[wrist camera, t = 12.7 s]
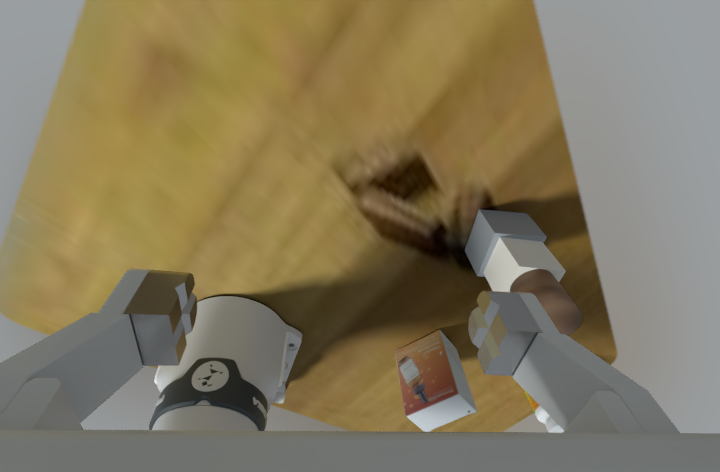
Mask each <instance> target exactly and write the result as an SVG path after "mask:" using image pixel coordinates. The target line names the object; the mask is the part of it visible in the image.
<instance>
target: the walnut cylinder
mask: <svg viewBox="0 0 720 472" xmlns="http://www.w3.org/2000/svg"><path fill="white" fill-rule="evenodd" d="M510 292H526V293H532V294H534V295H535V296H536V297H537V299H538V301H539V302H540V304H541V305H542V307H543V308H544V310H545V311H546V313H547V314H548V316H549V317H550V319H551V320H552V322H553V323H554V325H555V326H556V328H557V330H558V331H559V333H560V334H566V335H567V336H568V335H570V334H572V333H573V332H574V331H575V330H576V329H577V328H578V327H579V326H580V324H581V323H582V320H583V314H582V312H581V311H580V309H579V308H578V307H577V305H576V304H575V303H574V302H573V300H572V299H571V298H570V296H569V295H568V294H567V292H566V291H565V290H564V288H563V287H562V286H561V285H560V283H559V282H558V281H557V279H556V278H555V277H554V275H553V274H552V273H551V272H549V271H547V270H544V269H534V270H530V271H527V272H525V273H523V274H521V275H520V276H519V277H517V278H516V279H515V280H514V282H513V283H512V285H511V287H510Z"/></svg>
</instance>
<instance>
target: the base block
mask: <svg viewBox="0 0 720 472" xmlns="http://www.w3.org/2000/svg"><path fill="white" fill-rule="evenodd" d="M499 237H505V238H514V239H523V240H532V241H541V242H543V243H544V242H545V240H546V238H547V236H546V235H545V234H544V233H543V232H542V230H541V229H540V228H539V227H538V226H537V224H536V223H535V222H534V221H533V220H532V218H531V217H530V216H529V215H528V214H527V213H517V212H505V211H493V210H481V209H479V211H478V214H477V217H476V220H475V223H474V225H473V228H472V231H471V234H470V237H469V240H468V242H467V245H466V248H465V253H466V255H467V257H468V259H469V261H470V263H471V265H472V267H473V269H474V271H475V273H476V275H477V276H480V277H485V275H484V273H483V272H484V270H485V268H486V266H487V263H488V261H489V259H490V257H491V255H492V253H493V250H494V248H495V246H496V244H497V242H498V239H499Z"/></svg>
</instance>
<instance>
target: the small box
mask: <svg viewBox="0 0 720 472" xmlns="http://www.w3.org/2000/svg"><path fill="white" fill-rule="evenodd" d="M395 357H396V363H397V368H398V374H399V380H400V386H401V391H402V397H403V403H404V409H405V415H406V417H408V418H409V419H410V420H411V421H412V422H413V423H415V424H416V425H417V426H418V427H419V428H421V429H422V430H423V431H424V432H429V431H431V430H433V429H435V428H437V427H440V426H442V425H444V424H447V423H449V422H452V421H454V420H456V419H459V418H461V417H464V416H466V415H469V414H473V413H475V412H477V409H476V406H475V403H474V400H473V397H472V394H471V391H470V388H469V385H468V382H467V379H466V376H465V373H464V370H463V367H462V364H461V361H460V358H459V355H458V352H457V349H456V348H455V347H454V345H453V344H452V343H451V342H450V341H449V340H448V338H447V337H446V336H445V335H444V334H443V333H442V332H441V330H437V331H435V332H433V333H432V334H430V335H428V336H426V337H424V338H421V339H419V340H417V341H415V342H413V343H411V344H409V345H407V346H405V347H402V348H400V349H397V350H396V351H395Z"/></svg>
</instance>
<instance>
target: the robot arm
mask: <svg viewBox="0 0 720 472" xmlns="http://www.w3.org/2000/svg"><path fill="white" fill-rule="evenodd" d="M194 285H195V283H194V277H193V275H192V274H191V273H184V272H172V271H160V270H143V269H130V270H128V271H127V272H126V273H125V274H124V276H123V277H122V279H121V280H120V282H119V283H118V285H117V286H116V287H115V289H114V290H113V292H112V293H111V295H110V296H109V298H108V299H107V301H106V302H105V303H104V305H103V306H102V308H101V309H100V311H99V312H98V313H90V314H88V315H87V316H85V317H83V318H81V319H79V320H78V321H76V322H74V323H72V324H70V325H68V326H67V327H65V328H63V329H61V330H59V331H58V332H56V333H54V334H52V335H50V336H48V337H47V338H45V339H43V340H41V341H40V342H38V343H36V344H34V345H32V346H30V347H29V348H27V349H25V350H23V351H21V352H20V353H18V354H16V355H14V356H12V357H10V358H9V359H7V360H5V361H3V362H1V363H0V472H720V434H699V433H695V434H694V433H692V434H691V433H683V434H682V433H680V432H679V431H678V429H677V428H676V427H675V425H674V424H673V423H672V422H671V420H670V419H669V418H668V416H667V415H666V414H665V413H664V411H663V410H662V409H661V407H660V406H659V405H658V403H657V402H656V401H655V400H654V398H653V397H652V396H651V394H650V393H649V392H648V391H647V390H646V389H644V388H643V387H641V386H640V385H638V384H637V383H636V382H634V381H633V380H631V379H630V378H628V377H627V376H625V375H624V374H622V373H621V372H620V371H618V370H617V369H615V368H614V367H612V366H611V365H609V364H608V363H607V362H605V361H604V360H602V359H601V358H599V357H598V356H596V355H595V354H593V353H592V352H591V351H589V350H588V349H586V348H585V347H583V346H582V345H580V344H579V343H577V342H576V341H575V340H573V339H572V338H570V337H569V336H567V335H566V334H560V333H559V331H558V330H557V328H556V326H555V325H554V323H553V322H552V320H551V319H550V317H549V316H548V314H547V313H546V311H545V310H544V308H543V307H542V305H541V304H540V302H539V301H538V299H537V297H536V296H535V295H534V294H532V293H526V292H499V291H482V292H481V293H480V294H479V296H478V298H477V300H476V301H477V303H478V305H479V306H478V307H477V308H476V309H474V310H473V311H472V312H471V315H470V317H469V323H468V330H469V336H470V338H471V341H472V343H473V344H474V345H475V346H477V347H478V348H479V351H478V354H477V356H478V359H479V361H480V364H481V366H482V369H483V371H484V374H488V375H506V376H513V378H514V380H515V381H516V382H517V383H518V384H519V385H520V386H521V387H522V388H523V389H524V390H525V391H526V392H527V393H528V394H529V395H530V396H531V397H532V398H533V399H534V400H535V401H536V402H537V403H538V404H539V405H540V406H541V407H542V408H543V409H544V410H545V411H546V412H547V413H548V414H549V415H550V417H551V418H552V419H553V420H554V421H555V422H556V423H557V424H558V425H559V426H560V427H561V428H562V429H563V430H564V432H563V433H535V432H533V433H532V432H531V433H530V432H360V431H346V432H345V431H264V430H265V428H266V423H267V413H268V411H269V409H270V407H271V405H272V402H274V403H281V404H282V403H283V402H284V398H285V392H286V387H285V383H286V381H287V378H288V376H289V373H290V371H291V368H292V365H293V363H294V360H295V358H296V355H297V352H298V350H299V347H300V345H301V342H302V337H303V335H302V333H301V332H300V331H298V330H297V329H295V328H293V327H291V326H289V325H287V324H285V323H284V322H283V321H282V320H281V318H280V317H279V316H278V315H277V314H276V313H275V312H274V311H272V310H271V309H270V308H268V307H266V306H265V305H263V304H261V303H258V302H256V301H253V300H250V299H246V298H241V297H233V296H220V297H213V298H208V299H205V300H202V301H199V302H197V298H196V296H195V295H194V294H193V293H192V290H193V288H194ZM143 366H159V367H158V370H157V373H156V376H155V383H156V384H157V387H158V389H159V390H160V392H161V395H160V397H159V400H158V401H157V403H156V405H155V407H154V410H153V413H152V419H151V422H150V426H149V427H150V428H149V429H150V430H83V428H82V426H81V424H80V423H81V422H82V421H83V420H84V419H85V418H86V417H87V416H89V415H90V414H91V413H92V412H93V411H94V410H95V409H97V408H98V407H99V406H100V405H101V404H102V403H103V402H105V401H106V400H107V399H108V398H109V397H110V396H111V395H112V394H113V393H114V392H116V391H117V390H118V389H119V388H120V387H122V385H124V384H125V383H126V382H127V381H128V380H130V379H131V378H132V377H133V376H134V375H135V374H136V373H137V372H139V371H140V370H141V369H142V368H143Z"/></svg>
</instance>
